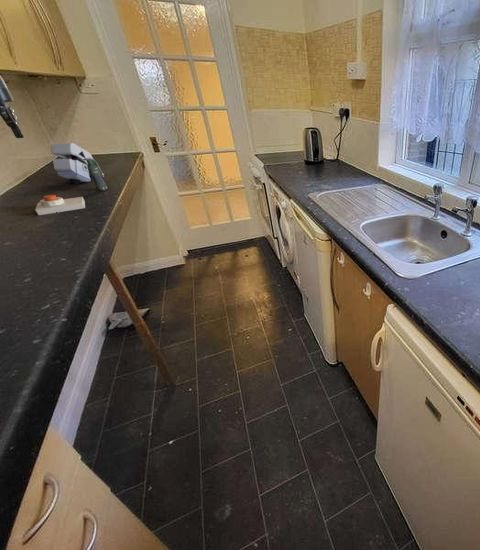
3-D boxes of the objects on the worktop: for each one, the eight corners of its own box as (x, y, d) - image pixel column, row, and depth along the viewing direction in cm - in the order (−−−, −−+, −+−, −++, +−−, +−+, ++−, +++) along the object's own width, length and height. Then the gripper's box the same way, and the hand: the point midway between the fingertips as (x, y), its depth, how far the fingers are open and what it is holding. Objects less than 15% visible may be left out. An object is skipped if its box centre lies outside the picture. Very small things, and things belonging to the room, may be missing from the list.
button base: (38, 215, 114) (32, 205, 112) (40, 207, 121) (35, 198, 119) (85, 208, 122) (80, 198, 120) (84, 201, 129) (80, 192, 127)
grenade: (102, 192, 142) (87, 159, 134) (95, 191, 142) (80, 158, 135) (111, 189, 145) (97, 157, 138) (104, 189, 146) (89, 156, 138)
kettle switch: (45, 202, 116) (42, 198, 116) (45, 200, 119) (43, 195, 118) (57, 200, 118) (55, 196, 118) (58, 198, 121) (55, 194, 120)
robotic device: (105, 192, 166) (103, 157, 167) (73, 177, 145) (71, 138, 146) (84, 193, 164) (83, 158, 165) (49, 178, 143) (47, 138, 144)
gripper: (-19, 86, 111) (9, 136, 120) (-27, 86, 103) (4, 140, 112) (9, 87, 115) (35, 135, 125) (4, 86, 107) (31, 139, 116)
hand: (20, 137), depth 118 cm, fingers closed
